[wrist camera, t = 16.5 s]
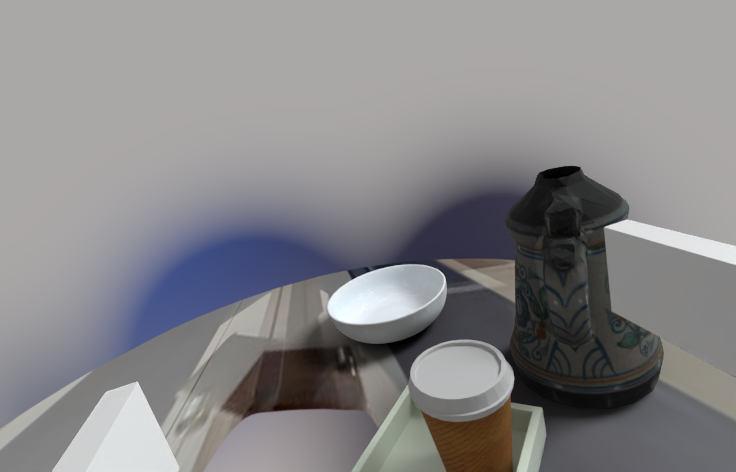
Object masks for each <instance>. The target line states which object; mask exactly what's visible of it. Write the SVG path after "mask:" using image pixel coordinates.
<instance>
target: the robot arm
mask: <svg viewBox="0 0 736 472" xmlns="http://www.w3.org/2000/svg"><path fill="white" fill-rule="evenodd" d="M604 235H605V245H606V256H607V267H608V277H609V288H610V299H611V309H612V312H614V313H616V314H618V315H620V316H621V317H623V318H625V319H627V320H629V321H631V322H633V323H635V324H636V325H638V326H640V327H642V328H644V329H646V330H648V331H650V332H651V333H653V334H655V335H657V336H659V337H661V338H663V339H665V340H666V341H668V342H670V343H672V344H674V345H676V346H678V347H680V348H681V349H683V350H685V351H687V352H689V353H691V354H693V355H694V356H696V357H698V358H700V359H702V360H704V361H706V362H708V363H709V364H711V365H713V366H715V367H717V368H719V369H721V370H723V371H724V372H726V373H728V374H730V375H732V376H734V377H736V246H733V245H728V244H724V243H720V242H716V241H712V240H708V239H704V238H700V237H696V236H692V235H688V234H684V233H680V232H675V231H672V230H668V229H663V228H660V227H655V226H651V225H647V224H643V223H639V222H635V221H631V220H624V221H621V222H618V223H615V224H612V225H609V226H606V227H604ZM178 471H179V466H178V464H177V462H176V459H175V457H174V455H173V453H172V451H171V449H170V447H169V445H168V443H167V441H166V439H165V437H164V435H163V433H162V431H161V429H160V427H159V425H158V422H157V420H156V418H155V416H154V414H153V412H152V410H151V408H150V406H149V404H148V402H147V400H146V398H145V396H144V394H143V392H142V390H141V388H140V385H139V383H138V382H135V383H132V384H128V385H125V386H122V387H119V388H116V389H113V390H110V391H107V392H105V394H104V395H103V397H102V398H101V400H100V401H99V402H98V404H97V405H96V407H95V408H94V410H93V411H92V413H91V414H90V416H89V417H88V419H87V420H86V422H85V423H84V425H83V426H82V428H81V429H80V431H79V432H78V434H77V435H76V437H75V438H74V439H73V441H72V442H71V444H70V445H69V447H68V448H67V450H66V451H65V453H64V454H63V456H62V457H61V459H60V460H59V462H58V463H57V465H56V466H55V468H54V469H53V471H52V472H178Z"/></svg>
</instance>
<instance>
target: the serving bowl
mask: <svg viewBox="0 0 736 472" xmlns="http://www.w3.org/2000/svg"><path fill="white" fill-rule="evenodd" d="M446 293H447V287H446V279H445V276H444V275H443V273H442V272H440V271H439V270H437V269H435V268H433V267H430V266H425V265H398V266H392V267H387V268H382V269H378V270H375V271H372V272H369V273H366V274H364V275H361V276H359V277H357V278H355V279H353V280H351V281H350V282H348V283H346V284H345V285H343V286H342V287H341V288H339V289H338V290H337V291H336V292H335V293H334V294H333V295H332V296H331V298H330V300H329V302H328V304H327V312H328V315H329V317H330V319H331V321H332V322H333V324H334V325H335V327H336V328H337V329H338V330H339V331H340V332H341V333H343V334H344V335H345V336H347V337H349V338H351V339H353V340H356V341H359V342H363V343H371V344H383V343H390V342H395V341H399V340H403V339H406V338H408V337H411V336H413V335H415V334H417V333H419V332H420V331H422V330H424V329H425V328H426V327H428V326H429V325H430V324H431V323H432V322H433V321H434V320H435V319H436V318H437V317H438V315H439V314H440V312H441V311H442V309H443V306H444V304H445V300H446Z"/></svg>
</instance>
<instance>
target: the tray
mask: <svg viewBox="0 0 736 472" xmlns="http://www.w3.org/2000/svg"><path fill="white" fill-rule="evenodd" d="M427 426H428V425H427V424H426V422H425V419H424V417H423V414H422V412H421V410H420V408H419V407H418V406H417V405H416V404H415V403H414V401H413V399H412V398H411V396H410V394H409V389H408V385H407V387H406V388H405V390H404V391H403V393H402V394H401V396H400V397H399V399H398V400H397V402H396V403H395V405H394V407H393V408H392V410H391V411H390V413H389V414H388V416H387V417H386V419H385V420H384V422H383V423H382V425H381V427H380V428H379V430H378V431H377V433H376V434H375V436H374V437H373V439H372V440H371V442H370V444H369V445H368V447H367V448H366V450H365V451H364V453H363V454H362V456H361V457H360V459H359V460H358V462H357V463H356V465H355V467H354V468H353V470H352V471H351V472H446V469H445V467H444V465H443V462H442V460H441V458H440V455H439V453H438V450H437V448H436V445H435V443H434V440H433V438H432V435H431V434H430V430H429V429H428V427H427ZM511 428H512V464H513V472H539V467H540V463H541V458H542V454H543V449H544V444H545V440H546V435H547V434H546V428H545V422H544V416H543V409H542V407H536V406H530V405H524V404H517V403H511Z"/></svg>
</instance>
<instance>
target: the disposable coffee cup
mask: <svg viewBox="0 0 736 472" xmlns="http://www.w3.org/2000/svg"><path fill="white" fill-rule="evenodd" d="M513 385H514V373H513V370H512V368H511V366H510V364H509V363H508V362H507V361H506V360H505V358H504V356H503V355H502V353H501V352H500V351H499V350H498V349H496V348H495V347H493V346H492V345H490V344H487V343H484V342H480V341H476V340H454V341H448V342H444V343H441V344H438V345H436V346H434V347H432V348H429V349H428V350H426V351H425V352H423V353H422V354H421V355H420V356H418V357H417V359H416V360H415V362H414V363H413V365H412V367H411V372H410V378H409V381H408V389H409V394H410V396H411V398H412V399H413V401H414V403H415V404H416V405H417V406H418V407H419V408H420V410H421V412H422V414H423V417H424V419H425V422H426V424H427V425H428V426H427V427H428V429H429V430H430V434H431V435H432V438H433V440H434V443H435V445H436V448H437V450H438V453H439V455H440V458H441V460H442V462H443V465H444V467H445V469H446V472H513V464H512V428H511V392H512V389H513Z"/></svg>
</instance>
